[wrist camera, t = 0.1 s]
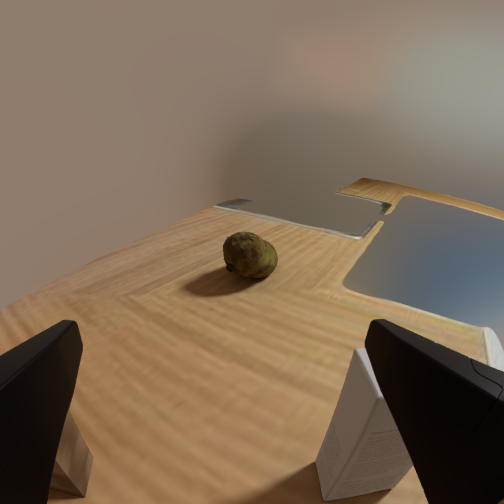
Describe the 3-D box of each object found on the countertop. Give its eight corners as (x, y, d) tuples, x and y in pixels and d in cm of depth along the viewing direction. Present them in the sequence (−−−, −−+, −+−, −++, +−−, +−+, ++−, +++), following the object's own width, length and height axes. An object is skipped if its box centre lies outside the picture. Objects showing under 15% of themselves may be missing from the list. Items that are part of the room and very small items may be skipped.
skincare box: (380, 450, 21) (438, 339, 16) (394, 488, 17) (472, 382, 12) (311, 459, 20) (353, 345, 16) (320, 503, 16) (379, 400, 12)
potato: (295, 273, 54) (301, 229, 51) (242, 296, 45) (246, 244, 42) (260, 259, 59) (263, 218, 56) (206, 277, 50) (207, 229, 48)
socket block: (85, 497, 14) (46, 447, 12) (1, 470, 13) (-43, 415, 10) (93, 456, 18) (64, 400, 15) (14, 436, 17) (-21, 379, 14)
